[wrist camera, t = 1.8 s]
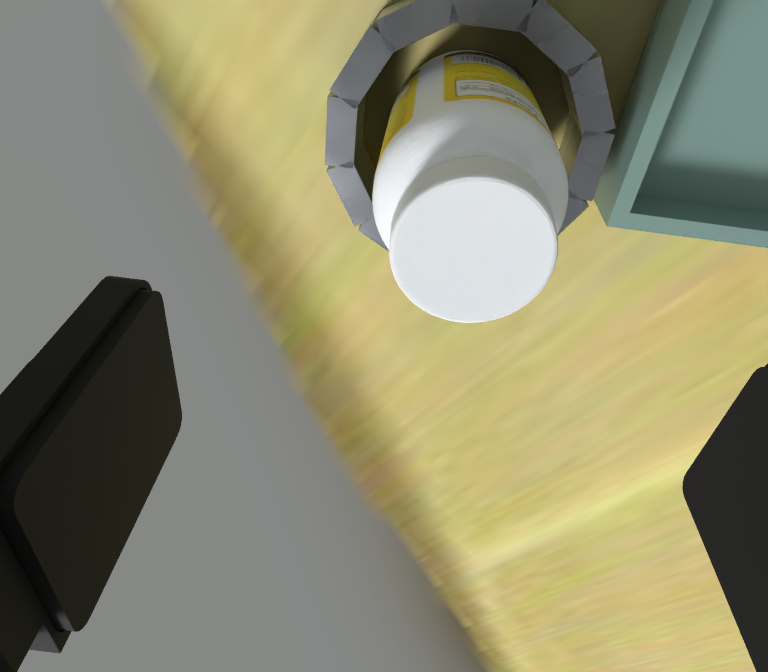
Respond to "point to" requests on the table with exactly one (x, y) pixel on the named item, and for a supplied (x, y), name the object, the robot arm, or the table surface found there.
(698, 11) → the tray
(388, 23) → the collar
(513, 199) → the supplement bottle
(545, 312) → the table surface
